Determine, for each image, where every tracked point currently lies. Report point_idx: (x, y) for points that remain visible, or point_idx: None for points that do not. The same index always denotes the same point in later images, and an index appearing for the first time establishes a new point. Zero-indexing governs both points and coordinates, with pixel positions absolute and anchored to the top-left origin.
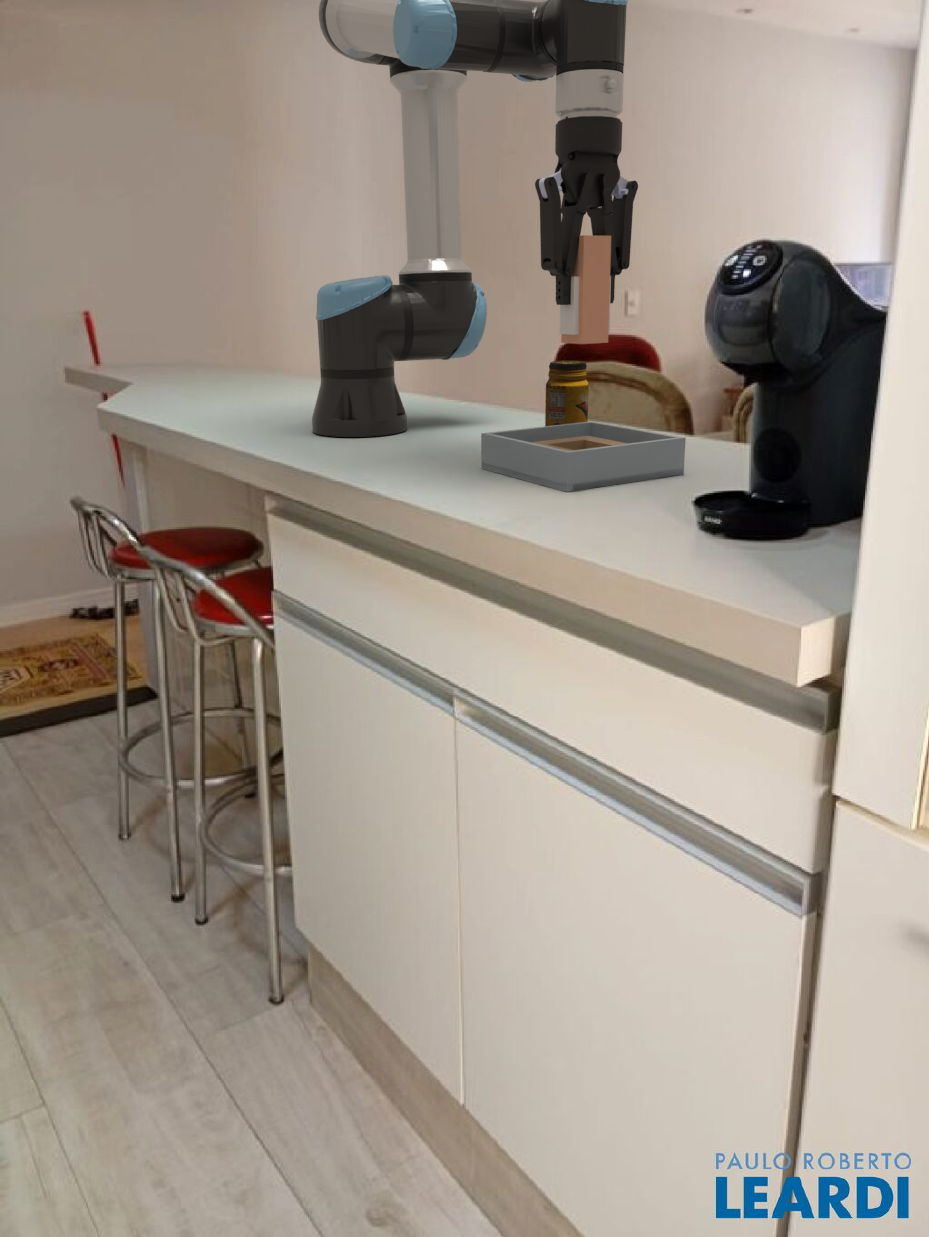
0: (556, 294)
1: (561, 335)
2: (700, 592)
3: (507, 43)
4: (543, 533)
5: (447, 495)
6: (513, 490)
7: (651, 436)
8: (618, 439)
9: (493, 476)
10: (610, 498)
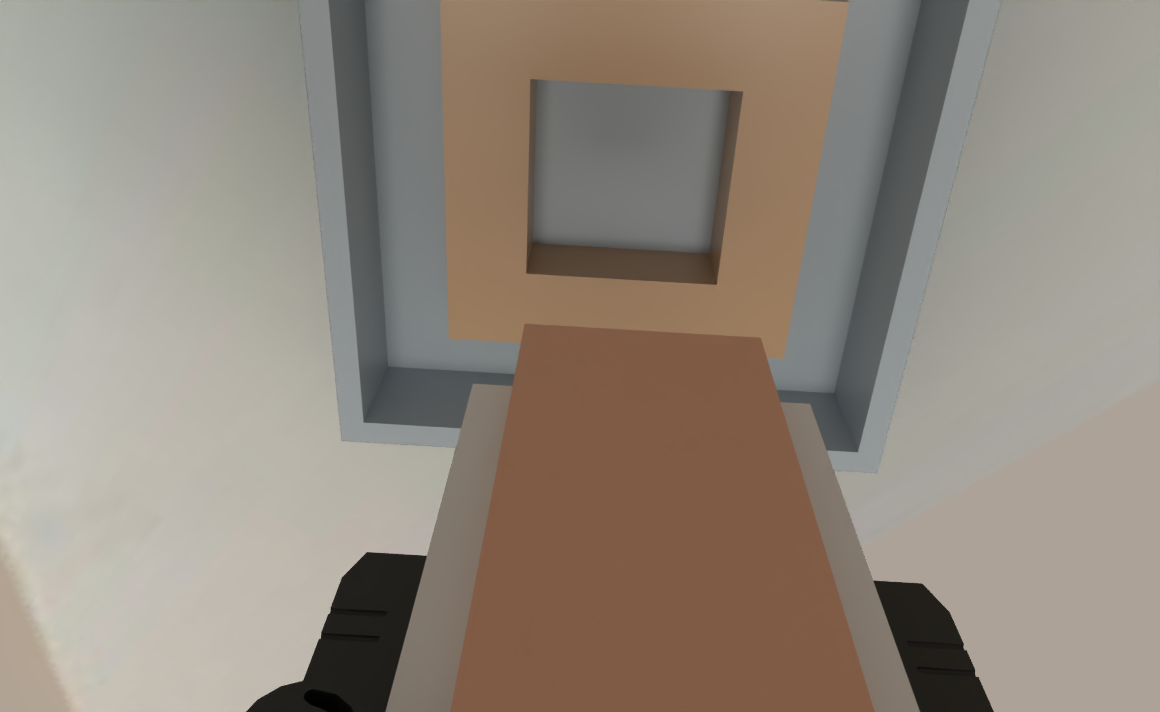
0: (329, 624)
1: (520, 347)
2: None
3: None
4: (97, 615)
5: (12, 189)
6: (242, 258)
7: (882, 328)
8: (918, 117)
9: (294, 14)
10: (427, 488)
